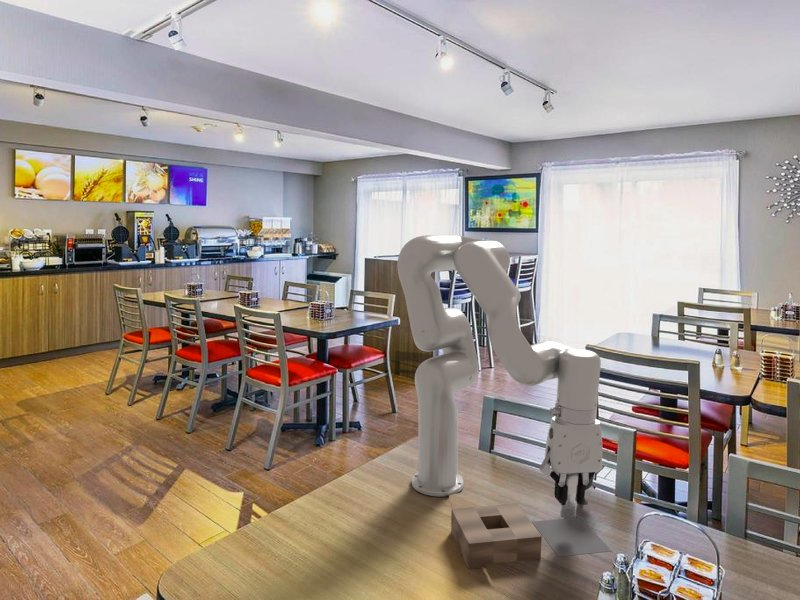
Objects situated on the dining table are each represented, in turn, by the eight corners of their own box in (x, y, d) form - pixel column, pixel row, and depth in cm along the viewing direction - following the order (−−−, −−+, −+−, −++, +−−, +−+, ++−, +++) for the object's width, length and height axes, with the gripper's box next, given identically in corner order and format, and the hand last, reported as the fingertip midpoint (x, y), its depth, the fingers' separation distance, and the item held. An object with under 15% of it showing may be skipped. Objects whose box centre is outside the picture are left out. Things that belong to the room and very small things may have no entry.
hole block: (451, 531, 107) (451, 508, 107) (515, 525, 110) (516, 503, 109) (468, 569, 96) (469, 543, 95) (540, 561, 98) (541, 536, 97)
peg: (557, 511, 106) (560, 465, 105) (571, 510, 107) (574, 464, 105) (564, 520, 103) (568, 472, 102) (578, 518, 104) (582, 471, 102)
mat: (531, 524, 110) (531, 521, 110) (580, 519, 112) (580, 517, 112) (558, 559, 98) (558, 556, 98) (611, 553, 100) (612, 550, 100)
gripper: (544, 422, 97) (538, 514, 100) (625, 418, 100) (617, 508, 102) (528, 407, 104) (522, 494, 107) (603, 404, 107) (596, 489, 110)
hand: (568, 500), depth 105 cm, fingers closed on peg, 3 cm apart
